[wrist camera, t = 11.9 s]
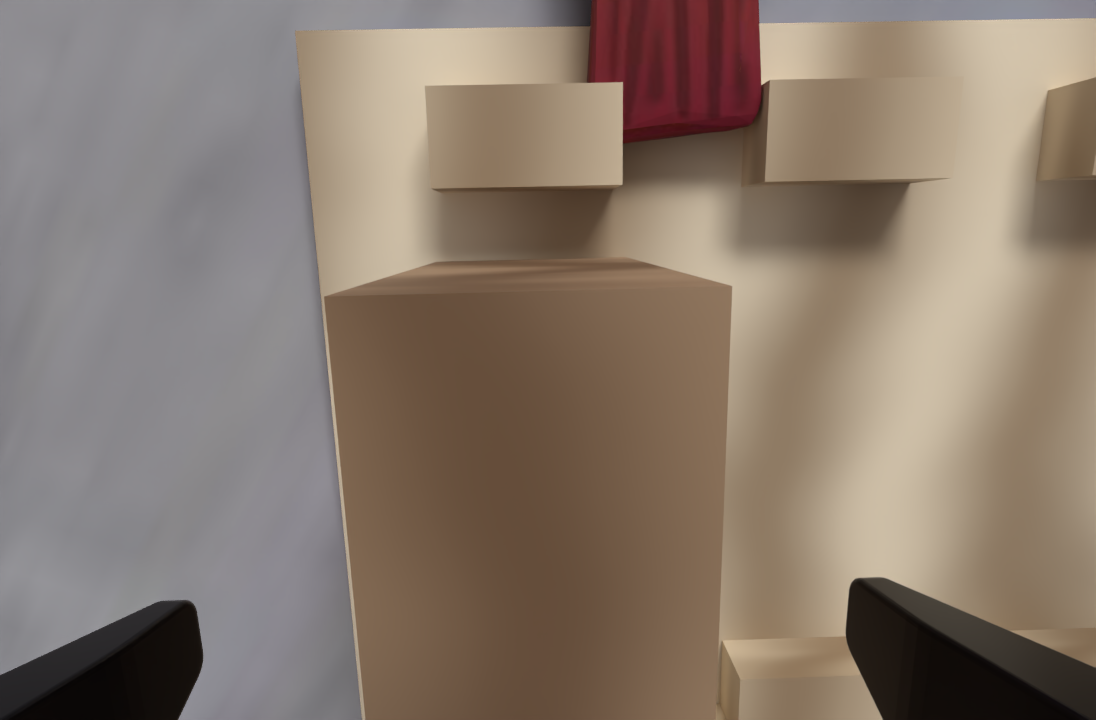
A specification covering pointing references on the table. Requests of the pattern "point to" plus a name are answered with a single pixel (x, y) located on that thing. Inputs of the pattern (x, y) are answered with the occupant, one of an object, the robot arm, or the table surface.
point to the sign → (678, 64)
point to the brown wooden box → (534, 487)
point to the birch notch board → (792, 295)
